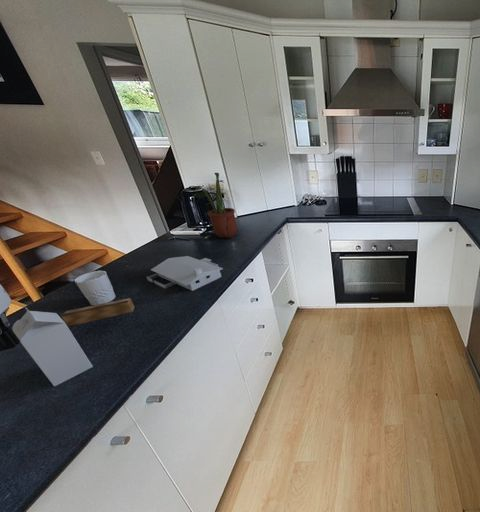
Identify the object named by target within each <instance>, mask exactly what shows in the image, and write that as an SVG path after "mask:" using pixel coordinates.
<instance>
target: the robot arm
mask: <svg viewBox="0 0 480 512" xmlns="http://www.w3.org/2000/svg"><path fill="white" fill-rule="evenodd" d="M11 305H12V299H11V297H10V295H9V294H8V292H7V291H6V289H5V288H4V287H3V285H2V284H1V283H0V352H2V351H7V350H12V349H15V348H16V347H17V345H19V344H20V343H21V342H20V340H19V338H18V337H17V336H16V335H15V333H14V332H13V330H12V327H10V326H11V322H10V321H9V319H8V317H7V313H8V312H9V309H10V306H11Z"/></svg>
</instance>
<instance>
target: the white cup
mask: <svg viewBox="0 0 480 512" xmlns="http://www.w3.org/2000/svg"><path fill="white" fill-rule="evenodd" d="M74 283H75V284H76V286H77V287H78V289H79V290H80V292H81V293H82V294H83V296H84V297H85V299H87V302H89V304H90V306H94V305H99V304H103V303H108V302H113V300H115V299H116V298H117V297H116V294H115V292H114V287H113V285H112V282H111V280H110V278H109V276H108V274H107V271H105V270H95V271H90V272H87V273H83V274H80V275H79V276H77V277H76V278H75V279H74Z"/></svg>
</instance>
